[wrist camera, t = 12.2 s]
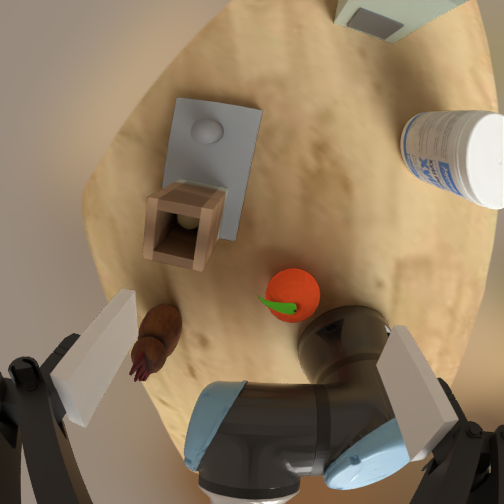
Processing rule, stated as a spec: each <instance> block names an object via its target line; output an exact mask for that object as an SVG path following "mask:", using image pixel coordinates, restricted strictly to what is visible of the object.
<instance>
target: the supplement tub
mask: <svg viewBox="0 0 504 504" xmlns="http://www.w3.org/2000/svg"><path fill="white" fill-rule="evenodd" d="M400 146H401V154H402V157H403V160H404V163H405V165H406V166H407V168H408V169H409V171H410V172H411V173H412V174H413V175H414V176H415V177H416V178H418V179H420V180H422V181H424V182H426V183H429V184H431V185H434V186H437V187H439V188H441V189H444V190H446V191H449V192H451V193H453V194H456V195H458V196H460V197H462V198H465V199H467V200H469V201H471V202H473V203H476V204H478V205H480V206H484V207H487V208H491V209H501V208H504V115H502V114H499V113H495V112H490V111H476V110H471V111H431V112H422V113H419V114H417V115H415V116H413V117H412V118H411V119H410V120H409V121H408V122H407V123H406V125H405V127H404V129H403V132H402V135H401V144H400Z"/></svg>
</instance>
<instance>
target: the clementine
mask: <svg viewBox="0 0 504 504" xmlns="http://www.w3.org/2000/svg"><path fill="white" fill-rule="evenodd" d="M258 297H259V296H258ZM259 299H260V300H261V301H262V302H263V303H264V304H265V305H266V306H268V308H269V310H270V311H271V313H272V314H273V315H274V316H276V317H277V318H278V319H280V320H282V321H285V322H289V323H296V322H300V321H303V320H305V319H307V318H309V317H310V316H311V315H312V314H313V313H314V312H315V310H316V309H317V307H318V304H319V301H320V290H319V286H318V284H317V282H316V280H315V279H314V277H313V276H311V275H310V274H309V273H308V272H306V271H304V270H301V269H297V268H289V269H285V270H283V271H281V272H279V273H277V274H276V275H275V276H274V277H273V278H272V279H271V280H270V282H269V283H268V287H267V290H266V300H264V299H262V298H260V297H259Z"/></svg>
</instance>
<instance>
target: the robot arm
mask: <svg viewBox="0 0 504 504" xmlns="http://www.w3.org/2000/svg"><path fill="white" fill-rule="evenodd" d="M138 335H139V333H138V322H137V309H136V293H135V291H133V290H128V289H124V288H122V289H121V290H120V291H119V292H118V293H117V294H116V295H115V296H114V297H113V299H112V300H111V301H110V302H109V303H108V304H107V305H106V307H105V308H104V309H103V310H102V311H101V312H100V314H99V315H98V316H97V317H96V318H95V319H94V321H93V322H92V323H91V324H90V325H89V326H88V328H87V329H86V330H85V331H84V333H83V334H82V335H78V334H75V333H73V334H71V335H70V336H68V337H66V338H64V340H63V341H62V342H61V343H60V344H59V346H58V347H57V348H56V349H55V350H54V351H53V353H52V354H51V355H50V356H49V357H48V358H47V359H46V361H45V362H44V363H43V364H42V365H41V367H40V368H39V365H38V363H37V361H36V360H35V359H34V358H31V357H20V358H17V359H15V360H14V361H13V362H12V363H11V364H10V365H9V368H8V372H9V374H10V376H11V379H9V378H3V376H2V374H1V372H0V504H21V484H20V483H21V482H20V481H21V479H20V478H21V477H20V475H21V448H22V444H23V449H24V454H25V459H26V464H27V468H28V472H29V476H30V480H31V484H32V487H33V491H34V494H35V498H36V501H37V504H93V503H92V501H91V498H90V496H89V494H88V491H87V489H86V486H85V484H84V481H83V479H82V476H81V474H80V471H79V468H78V466H77V463H76V460H75V457H74V454H73V451H72V448H71V445H70V442H69V438H68V435H67V432H66V428H65V425H64V422H63V420H62V418H63V417H64V415H65V414H67V416H68V418H69V420H70V421H71V422H73V423H76V424H78V425H81V426H83V427H86V426H87V424H88V422H89V420H90V419H91V417H92V415H93V413H94V411H95V409H96V408H97V406H98V404H99V402H100V400H101V399H102V397H103V395H104V393H105V391H106V390H107V388H108V386H109V384H110V383H111V381H112V379H113V378H114V376H115V374H116V372H117V371H118V369H119V367H120V365H121V364H122V362H123V360H124V359H125V357H126V355H127V354H128V352H129V350H130V349H131V347H132V345H133V344H134V342H135V340H136V339H137V337H138ZM298 352H299V361H300V365H301V368H302V370H303V372H304V374H305V375H306V376H307V378H308V380H309V381H310V383H311V384H275V383H253V382H248V381H242V382H226V381H217V382H213V383H210V384H209V385H207V386H206V387H205V388H204V389H203V391H202V392H201V394H200V396H199V398H198V400H197V402H196V404H195V407H194V410H193V413H192V416H191V419H190V422H189V426H188V430H187V435H186V441H185V447H184V455H185V459H184V463H185V465H186V467H187V468H189V469H191V470H192V471H195V472H196V471H198V472H199V482H198V485H199V487H200V489H201V490H203V492H205V493H206V494H207V495H208V496H209V497H210V498H211V504H285V502H286V501H288V500H289V499H291V498H292V497H293V496H295V495H296V494H297V493H298V492H299V488H300V478H301V477H303V476H319V475H323V479H324V482H326V484H327V486H328V487H330V488H332V489H339V490H347V489H354V488H359V487H362V486H366V485H369V484H372V483H374V482H377V481H379V480H381V479H384V478H386V477H388V476H389V475H391V474H393V473H395V472H396V471H398V470H399V469H401V468H402V467H403V466H405V465H406V464H407V463H408V462H409V461H417V460H421V459H425V458H426V457H427V456H428V455H429V454H430V453H431V452H432V453H433V455H434V457H433V459H431V460H430V461H429V463H427V464H426V465H425V466H424V467H423V469H422V470H421V471H424V470H425V469H426V468H427V470H426V472H425V474H424V476H423V478H422V480H421V482H420V484H419V486H418V489H417V490H416V492H415V494H414V496H413V498H412V500H411V502H410V504H504V425H500V426H498V428H497V429H496V430H495V431H494V432H485V431H483V429H482V428H481V427H480V426H479V425H478V424H477V423H475V422H472V421H467V419H466V417H465V415H464V413H463V411H462V409H461V407H460V406H459V404H458V402H457V400H455V399H456V398H455V397H454V395H453V394H452V391H451V389H450V388H449V386H448V384H447V383H446V382H445V381H444V380H442V379H441V378H436V376H435V374H434V372H433V371H432V369H431V367H430V365H429V364H428V362H427V360H426V358H425V357H424V355H423V353H422V352H421V350H420V348H419V347H418V345H417V343H416V342H415V340H414V338H413V337H412V335H411V334H410V332H409V330H408V329H407V327H406V326H398V325H394V326H393V328H392V331H391V329H390V327H389V325H388V324H387V322H386V320H385V319H384V317H383V316H382V315H381V314H379V313H378V312H376V311H375V310H373V309H370V308H367V307H362V306H347V307H341V308H337V309H334V310H332V311H329V312H327V313H325V314H323V315H322V316H320V317H318V318H317V319H316V320H314V321H313V322H312V323H311V324H310V325H309V326H308V327H307V329H306V330H305V331H304V333H303V335H302V337H301V339H300V342H299V347H298ZM490 467H491V473H489V468H490Z"/></svg>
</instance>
